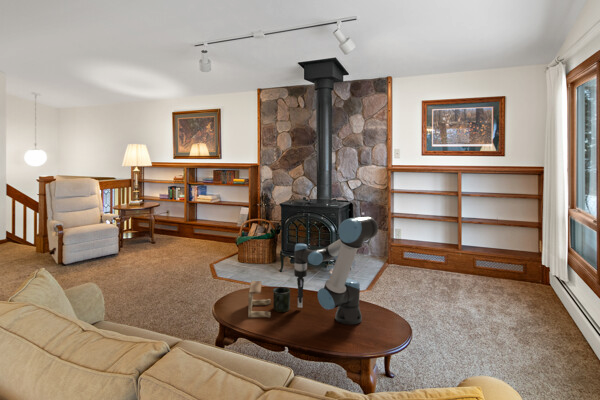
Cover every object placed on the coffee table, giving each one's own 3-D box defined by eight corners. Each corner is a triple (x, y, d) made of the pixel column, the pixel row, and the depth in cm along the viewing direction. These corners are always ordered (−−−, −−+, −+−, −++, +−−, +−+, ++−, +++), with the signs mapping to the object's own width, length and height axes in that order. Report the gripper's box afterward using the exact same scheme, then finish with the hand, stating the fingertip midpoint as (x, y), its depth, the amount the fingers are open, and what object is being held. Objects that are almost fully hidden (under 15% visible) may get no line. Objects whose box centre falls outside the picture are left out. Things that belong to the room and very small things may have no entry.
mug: (292, 306, 223) (292, 287, 222) (286, 315, 209) (286, 296, 208) (275, 304, 226) (275, 286, 225) (268, 313, 212) (268, 294, 211)
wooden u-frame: (270, 303, 228) (270, 280, 226) (270, 317, 206) (270, 292, 205) (250, 303, 227) (250, 280, 225) (248, 318, 205) (248, 292, 204)
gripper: (293, 266, 222) (293, 303, 225) (295, 272, 209) (294, 311, 212) (305, 266, 223) (305, 302, 225) (307, 272, 210) (307, 311, 212)
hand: (300, 307), depth 218 cm, fingers closed
